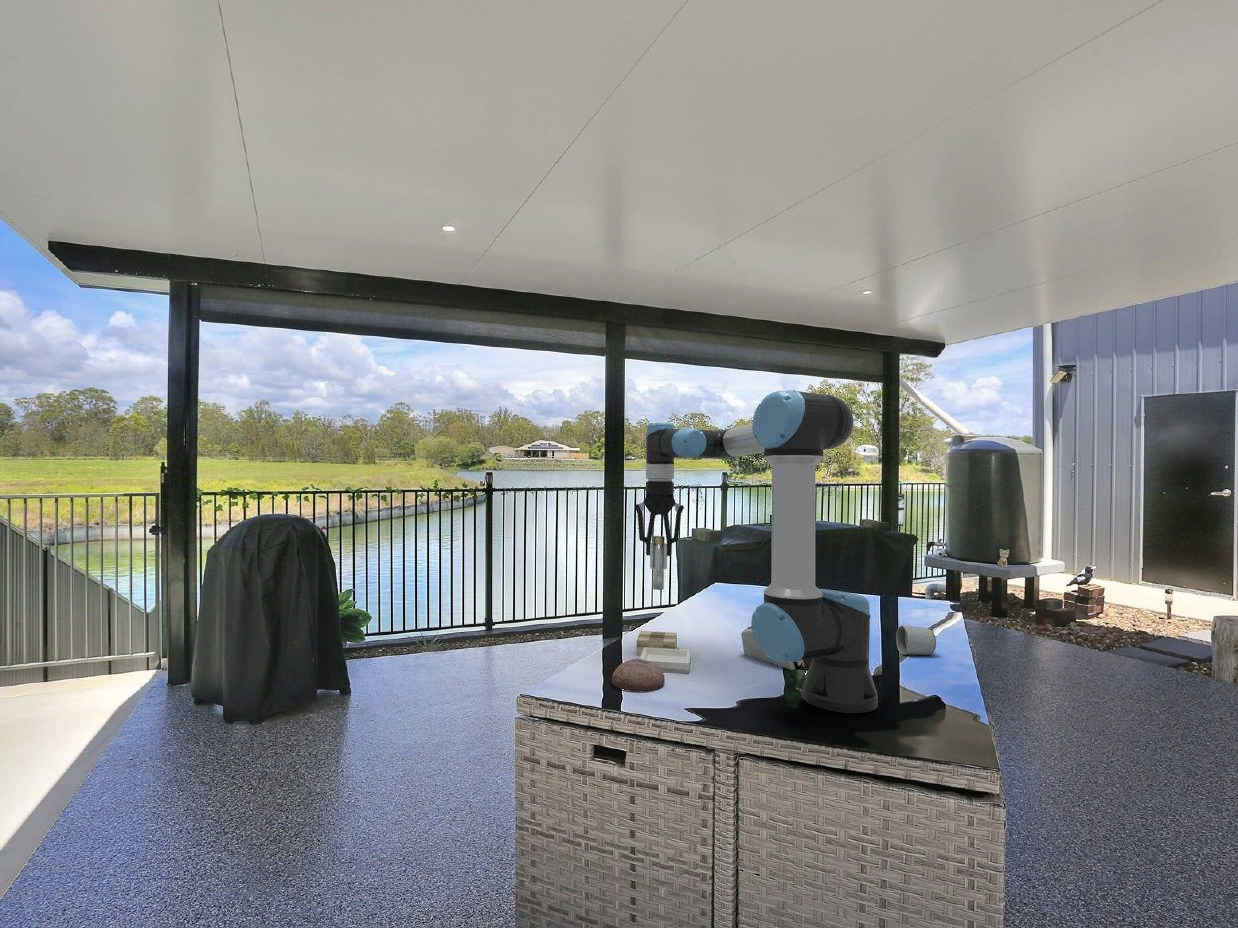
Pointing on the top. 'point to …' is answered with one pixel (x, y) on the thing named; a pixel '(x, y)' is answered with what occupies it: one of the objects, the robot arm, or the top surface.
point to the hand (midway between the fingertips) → (658, 567)
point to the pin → (658, 562)
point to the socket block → (656, 640)
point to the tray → (668, 659)
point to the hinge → (755, 651)
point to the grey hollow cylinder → (915, 640)
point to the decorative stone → (638, 676)
